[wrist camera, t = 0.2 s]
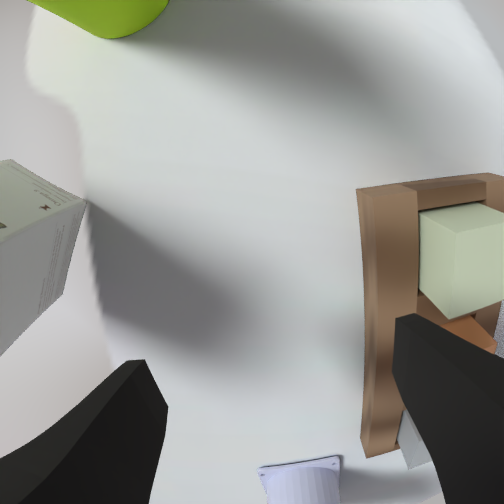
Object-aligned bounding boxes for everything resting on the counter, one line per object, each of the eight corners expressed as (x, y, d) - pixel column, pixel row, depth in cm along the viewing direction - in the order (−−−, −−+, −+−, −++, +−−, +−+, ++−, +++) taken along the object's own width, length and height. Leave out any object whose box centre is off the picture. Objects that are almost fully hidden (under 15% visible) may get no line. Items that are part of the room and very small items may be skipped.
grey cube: (438, 419, 21) (454, 451, 17) (395, 434, 21) (408, 469, 18) (448, 387, 20) (469, 420, 16) (401, 404, 20) (419, 441, 16)
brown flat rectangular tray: (453, 406, 23) (463, 423, 21) (360, 438, 24) (366, 458, 21) (488, 172, 16) (512, 178, 13) (355, 189, 16) (372, 197, 14)
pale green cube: (471, 269, 16) (508, 297, 12) (415, 284, 16) (448, 319, 13) (474, 201, 15) (518, 219, 11) (414, 211, 15) (456, 233, 11)
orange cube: (456, 359, 19) (480, 393, 15) (406, 376, 19) (427, 415, 15) (465, 310, 17) (497, 342, 13) (412, 327, 17) (440, 366, 14)
